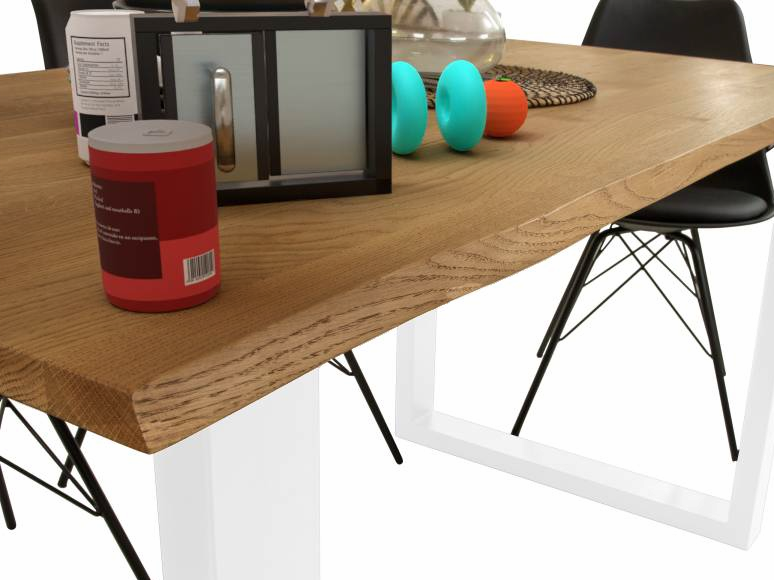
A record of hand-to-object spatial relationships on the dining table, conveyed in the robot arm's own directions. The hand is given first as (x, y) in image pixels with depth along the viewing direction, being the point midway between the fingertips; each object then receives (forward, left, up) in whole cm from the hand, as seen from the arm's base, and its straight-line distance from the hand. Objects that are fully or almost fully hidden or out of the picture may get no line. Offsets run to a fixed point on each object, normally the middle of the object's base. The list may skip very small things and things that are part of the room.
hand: (252, 12), depth 71 cm
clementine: (+48, +22, -18) cm, 55 cm away
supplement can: (+6, +36, -18) cm, 40 cm away
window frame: (+10, +14, -18) cm, 24 cm away
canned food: (-10, -4, -18) cm, 21 cm away
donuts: (+35, +20, -18) cm, 44 cm away
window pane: (+4, +13, -16) cm, 21 cm away
